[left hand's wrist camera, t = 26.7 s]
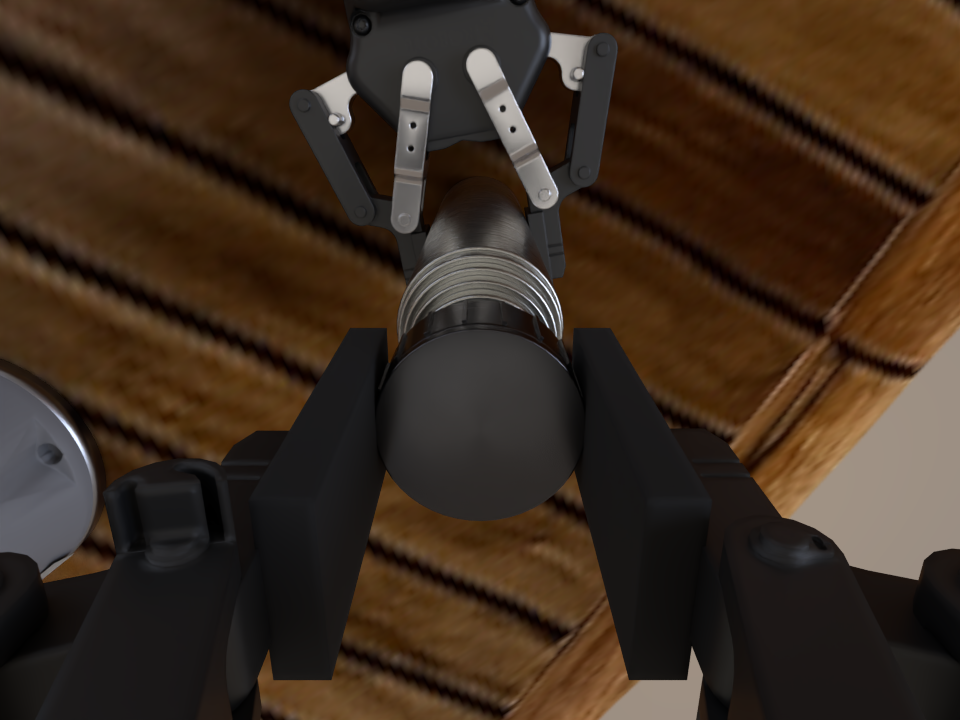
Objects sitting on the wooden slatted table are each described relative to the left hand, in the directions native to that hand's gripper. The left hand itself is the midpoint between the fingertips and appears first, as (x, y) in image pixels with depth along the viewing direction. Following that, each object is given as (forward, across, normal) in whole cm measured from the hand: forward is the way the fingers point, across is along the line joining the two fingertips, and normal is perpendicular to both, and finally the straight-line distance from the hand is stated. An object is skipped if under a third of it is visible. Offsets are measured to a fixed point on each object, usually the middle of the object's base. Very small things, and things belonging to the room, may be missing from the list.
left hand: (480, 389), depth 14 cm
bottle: (+23, 0, 0) cm, 23 cm away
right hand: (+17, 0, -3) cm, 18 cm away
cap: (-2, 0, 0) cm, 2 cm away
